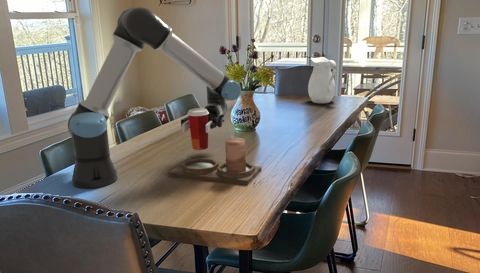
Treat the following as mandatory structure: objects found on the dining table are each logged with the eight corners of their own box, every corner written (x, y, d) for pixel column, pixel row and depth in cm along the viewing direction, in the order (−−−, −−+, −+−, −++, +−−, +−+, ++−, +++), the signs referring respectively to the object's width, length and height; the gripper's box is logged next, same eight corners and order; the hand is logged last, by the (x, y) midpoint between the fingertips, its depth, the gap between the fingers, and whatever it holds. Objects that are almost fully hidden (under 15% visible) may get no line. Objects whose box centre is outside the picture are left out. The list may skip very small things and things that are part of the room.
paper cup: (211, 144, 165) (209, 107, 161) (210, 150, 158) (208, 111, 154) (190, 145, 165) (187, 108, 161) (188, 151, 158) (185, 112, 154)
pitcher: (303, 100, 291) (303, 57, 283) (326, 98, 295) (327, 56, 288) (320, 107, 269) (321, 60, 261) (345, 105, 273) (347, 59, 266)
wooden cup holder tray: (247, 184, 150) (246, 148, 146) (168, 176, 160) (166, 141, 157) (261, 170, 163) (260, 136, 160) (188, 163, 173) (186, 131, 170)
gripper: (237, 123, 175) (224, 139, 154) (186, 123, 179) (167, 138, 157) (236, 105, 173) (223, 118, 152) (185, 104, 177) (165, 117, 155)
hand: (194, 128), depth 155 cm, fingers closed on paper cup, 8 cm apart
